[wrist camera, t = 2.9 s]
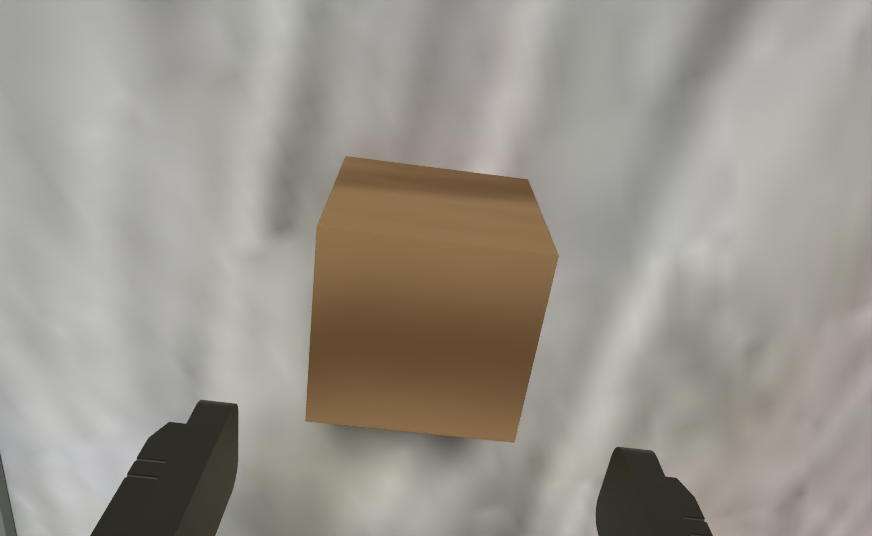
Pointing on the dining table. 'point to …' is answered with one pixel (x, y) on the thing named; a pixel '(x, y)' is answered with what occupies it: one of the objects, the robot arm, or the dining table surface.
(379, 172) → the walnut cube
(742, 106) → the dining table surface
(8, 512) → the coaster
